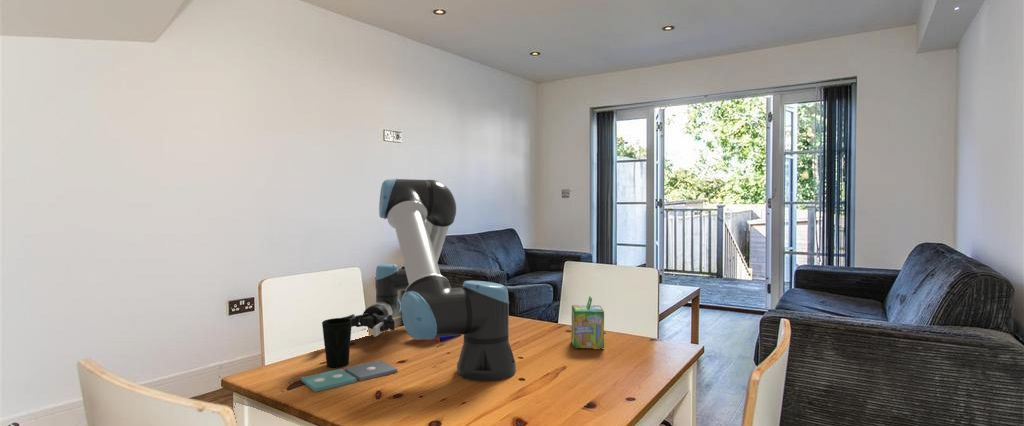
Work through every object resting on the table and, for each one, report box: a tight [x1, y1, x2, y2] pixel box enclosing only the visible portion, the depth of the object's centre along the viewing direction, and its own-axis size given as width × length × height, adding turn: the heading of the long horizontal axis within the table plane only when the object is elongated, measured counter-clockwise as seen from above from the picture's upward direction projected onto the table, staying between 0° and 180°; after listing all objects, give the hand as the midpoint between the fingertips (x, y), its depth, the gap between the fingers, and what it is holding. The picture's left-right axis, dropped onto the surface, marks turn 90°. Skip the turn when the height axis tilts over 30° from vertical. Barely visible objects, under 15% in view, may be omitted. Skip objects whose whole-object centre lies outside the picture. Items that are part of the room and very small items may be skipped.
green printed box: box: [570, 296, 605, 349], centre depth 154 cm, size 9×9×15 cm
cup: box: [321, 317, 353, 369], centre depth 136 cm, size 8×8×12 cm
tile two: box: [300, 368, 358, 393], centre depth 124 cm, size 10×10×1 cm
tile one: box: [344, 359, 399, 382], centre depth 131 cm, size 10×10×1 cm
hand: (351, 331), depth 146 cm, fingers open, 13 cm apart
